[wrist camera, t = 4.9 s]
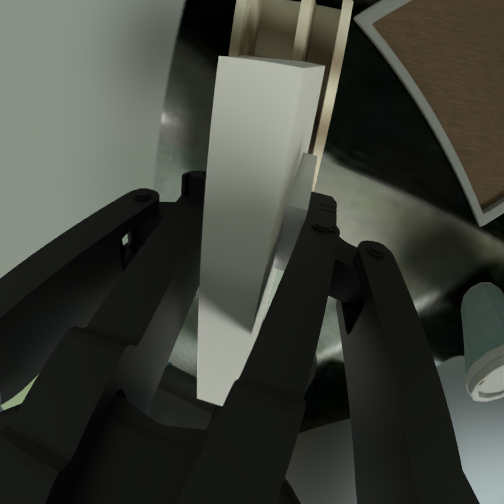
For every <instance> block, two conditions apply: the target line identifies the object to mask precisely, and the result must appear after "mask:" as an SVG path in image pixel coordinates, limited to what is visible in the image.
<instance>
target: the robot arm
mask: <svg viewBox="0 0 504 504" xmlns="http://www.w3.org/2000/svg"><path fill="white" fill-rule="evenodd" d="M317 157H318V156H316V155H312V154H308V153H303V156H302V160H301V163H300V166H299V169H298V172H297V175H296V178H295V181H294V184H293V187H292V190H291V193H290V196H289V199H288V202H287V205H286V210H285V215H284V219H283V224H282V229H281V233H280V238H279V242H278V247H277V252H276V256H275V261H274V265H273V268H276V269H280V270H284V273H283V276H282V278H281V281H280V283H279V286H278V288H277V291H276V293H275V295H274V298H273V300H272V303H271V305H270V307H269V310H268V312H267V315H266V317H265V319H264V322H263V324H262V326H261V328H260V330H259V333H258V336H257V338H256V340H255V343H254V345H253V347H252V350H251V352H250V354H249V357H248V359H247V361H246V364H245V366H244V368H243V370H242V373H241V375H240V377H239V378H238V380H235V382H234V383H233V385H232V387H231V389H230V391H229V393H228V395H227V397H226V400H225V402H224V404H223V406H220V405H216V404H213V403H210V402H207V401H204V400H200V399H197V377H196V376H194V375H192V374H190V373H187V372H185V371H183V370H181V369H179V368H177V367H175V366H173V365H172V363H171V362H168V359H169V357H170V355H171V352H172V350H173V347H174V345H175V342H176V340H177V337H178V335H179V332H180V330H181V328H182V325H183V323H184V320H185V318H186V316H187V313H188V311H189V308H190V306H191V304H192V301H193V299H194V297H195V294H196V292H197V289H198V287H199V285H200V263H201V245H202V228H203V213H204V198H205V185H206V173H207V172H205V171H190V172H187V173H184V174H183V175H182V189H181V196H180V198H179V199H178V200H177V201H176V202H159V194H158V192H156V191H154V190H150V189H147V188H146V189H143V188H141V189H137V190H133V191H131V192H129V193H127V194H125V195H124V196H122V197H120V198H118V199H117V200H115V201H113V202H112V203H110V204H108V205H107V206H105V207H103V208H102V209H100V210H99V211H97V212H95V213H94V214H92V215H91V216H89V217H88V218H86V219H84V220H83V221H81V222H80V223H78V224H76V225H75V226H73V227H72V228H70V229H69V230H67V231H66V232H64V233H63V234H61V235H60V236H58V237H57V238H55V239H54V240H53V241H51V242H50V243H48V244H47V245H45V246H44V247H43V248H41V249H40V250H38V251H37V252H36V253H34V254H32V255H31V256H30V257H28V258H27V259H26V260H24V261H23V262H22V263H20V264H19V265H17V266H16V267H15V268H14V269H12V270H11V271H10V272H8V273H7V274H6V275H4V276H3V277H2V278H0V405H2V404H3V403H5V402H7V401H8V400H10V399H11V398H13V397H14V396H15V395H17V394H18V393H19V392H20V391H22V390H23V389H24V388H25V387H26V386H27V385H28V384H29V383H30V382H31V381H32V380H33V379H34V378H35V377H36V376H37V375H38V374H39V375H38V377H37V378H36V380H35V382H34V383H33V385H32V387H31V389H30V390H29V392H28V394H27V395H26V397H25V399H24V401H23V402H22V403H21V404H19V405H16V406H14V407H11V408H9V409H6V410H3V409H2V408H1V406H0V504H301V503H300V502H299V500H298V498H297V496H296V494H295V492H294V491H293V489H292V487H291V485H290V484H289V483H288V481H287V480H286V479H285V475H286V472H287V469H288V466H289V463H290V459H291V456H292V453H293V450H294V446H295V443H296V439H297V436H298V433H299V429H300V426H301V422H302V418H303V415H304V410H305V404H306V402H305V401H304V396H305V392H306V390H307V389H308V387H309V385H310V383H311V382H312V380H313V378H314V376H315V373H316V366H317V357H316V354H315V352H316V348H317V344H318V340H319V335H320V331H321V327H322V322H323V317H324V313H325V308H326V303H327V299H328V295H329V296H331V297H333V298H335V299H337V301H336V309H337V315H338V321H339V328H340V335H341V342H342V349H343V356H344V364H345V372H346V380H347V388H348V397H349V407H350V416H351V427H352V438H353V451H354V465H355V481H356V495H357V504H480V503H479V501H478V500H477V497H476V495H475V494H474V492H473V490H472V488H471V486H470V484H469V482H468V480H467V478H466V476H465V474H464V472H463V470H462V466H461V461H460V456H459V451H458V446H457V442H456V438H455V433H454V429H453V425H452V421H451V417H450V413H449V409H448V406H447V402H446V398H445V395H444V391H443V388H442V385H441V381H440V378H439V375H438V372H437V368H436V365H435V362H434V359H433V356H432V353H431V350H430V347H429V344H428V341H427V338H426V336H425V333H424V330H423V327H422V325H421V322H420V319H419V316H418V314H417V311H416V309H415V306H414V303H413V301H412V298H411V296H410V293H409V291H408V289H407V286H406V284H405V281H404V279H403V277H402V274H401V272H400V269H399V267H398V265H397V263H396V260H395V258H394V256H393V254H392V253H391V251H390V250H389V249H388V248H387V247H385V246H384V245H383V244H381V243H378V242H374V241H362V242H360V244H359V245H358V247H355V246H353V245H351V244H349V243H347V242H345V241H344V240H343V239H341V238H340V237H339V235H340V231H339V228H338V227H337V226H336V212H337V209H336V208H337V203H336V201H335V200H334V199H333V197H331V196H327V195H323V194H319V193H315V192H311V190H312V185H313V179H314V174H315V168H316V162H317ZM126 234H128V243H126V244H125V245H123V243H122V238H123V237H124V236H125V235H126Z"/></svg>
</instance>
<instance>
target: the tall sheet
mask: <svg viewBox="0 0 504 504" xmlns="http://www.w3.org/2000/svg"><path fill="white" fill-rule="evenodd" d="M324 70H325V66H323V65H319V64H314V63H309V62H303V61H294V60H284V59H273V58H258V57H237V56H219V59H218V66H217V75H216V83H215V91H214V100H213V110H212V119H211V129H210V139H209V150H208V161H207V173H206V185H205V198H204V213H203V228H202V245H201V263H200V285H199V311H198V350H197V399H200V400H204V401H207V402H210V403H213V404H216V405H220V406H223V404H224V402H225V400H226V397H227V395H228V393H229V391H230V389H231V387H232V385H233V383H234V382H235V380H238V378H239V377H240V375H241V373H242V370H243V368H244V366H245V364H246V361H247V359H248V357H249V354H250V352H251V350H252V347H253V345H254V343H255V340H256V338H257V336H258V333H259V330H260V327H261V324H262V320H263V317H264V314H265V310H266V307H267V303H268V300H269V297H270V293H271V290H272V286H273V283H274V280H275V276H276V273H277V269H276V268H273V265H274V261H275V256H276V252H277V247H278V242H279V238H280V233H281V229H282V224H283V219H284V215H285V210H286V205H287V202H288V199H289V196H290V193H291V190H292V187H293V184H294V181H295V178H296V175H297V172H298V169H299V166H300V163H301V160H302V156H303V153H308V149H309V144H310V140H311V135H312V130H313V125H314V120H315V116H316V111H317V106H318V101H319V96H320V91H321V86H322V81H323V75H324Z"/></svg>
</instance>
